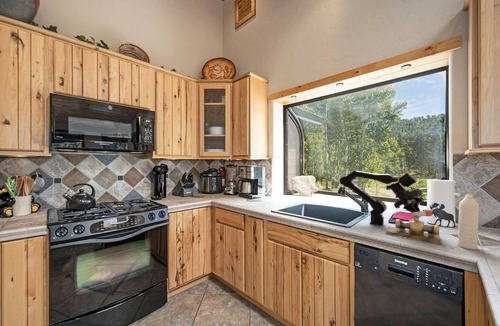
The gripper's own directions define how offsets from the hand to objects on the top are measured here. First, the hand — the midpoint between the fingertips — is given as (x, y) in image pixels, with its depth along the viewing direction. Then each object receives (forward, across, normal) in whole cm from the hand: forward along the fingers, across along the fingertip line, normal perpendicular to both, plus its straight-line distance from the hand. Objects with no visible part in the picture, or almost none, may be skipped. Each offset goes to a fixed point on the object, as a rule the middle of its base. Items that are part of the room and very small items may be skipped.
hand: (420, 215), depth 115 cm
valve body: (+7, -5, +6) cm, 10 cm away
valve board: (+7, -6, +8) cm, 12 cm away
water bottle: (+20, +3, -5) cm, 20 cm away
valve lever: (+1, 0, -1) cm, 1 cm away
